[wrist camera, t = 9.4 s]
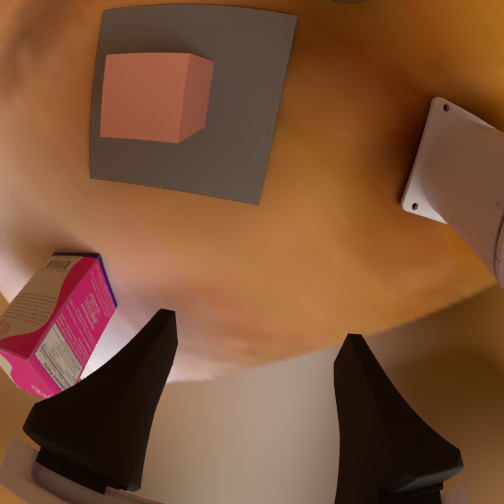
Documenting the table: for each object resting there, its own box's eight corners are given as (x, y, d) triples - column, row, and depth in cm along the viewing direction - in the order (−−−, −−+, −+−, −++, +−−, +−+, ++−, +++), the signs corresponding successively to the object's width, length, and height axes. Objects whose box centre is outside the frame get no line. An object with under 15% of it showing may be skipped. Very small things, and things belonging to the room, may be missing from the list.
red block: (214, 61, 14) (189, 53, 10) (204, 127, 16) (178, 143, 12) (149, 59, 14) (106, 54, 10) (142, 121, 16) (100, 136, 12)
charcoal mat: (297, 17, 12) (297, 15, 12) (259, 202, 19) (258, 205, 18) (107, 11, 12) (104, 10, 12) (93, 176, 19) (90, 178, 18)
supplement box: (73, 301, 26) (16, 388, 16) (53, 251, 23) (-23, 337, 13) (120, 307, 25) (66, 410, 15) (102, 253, 22) (23, 357, 12)
